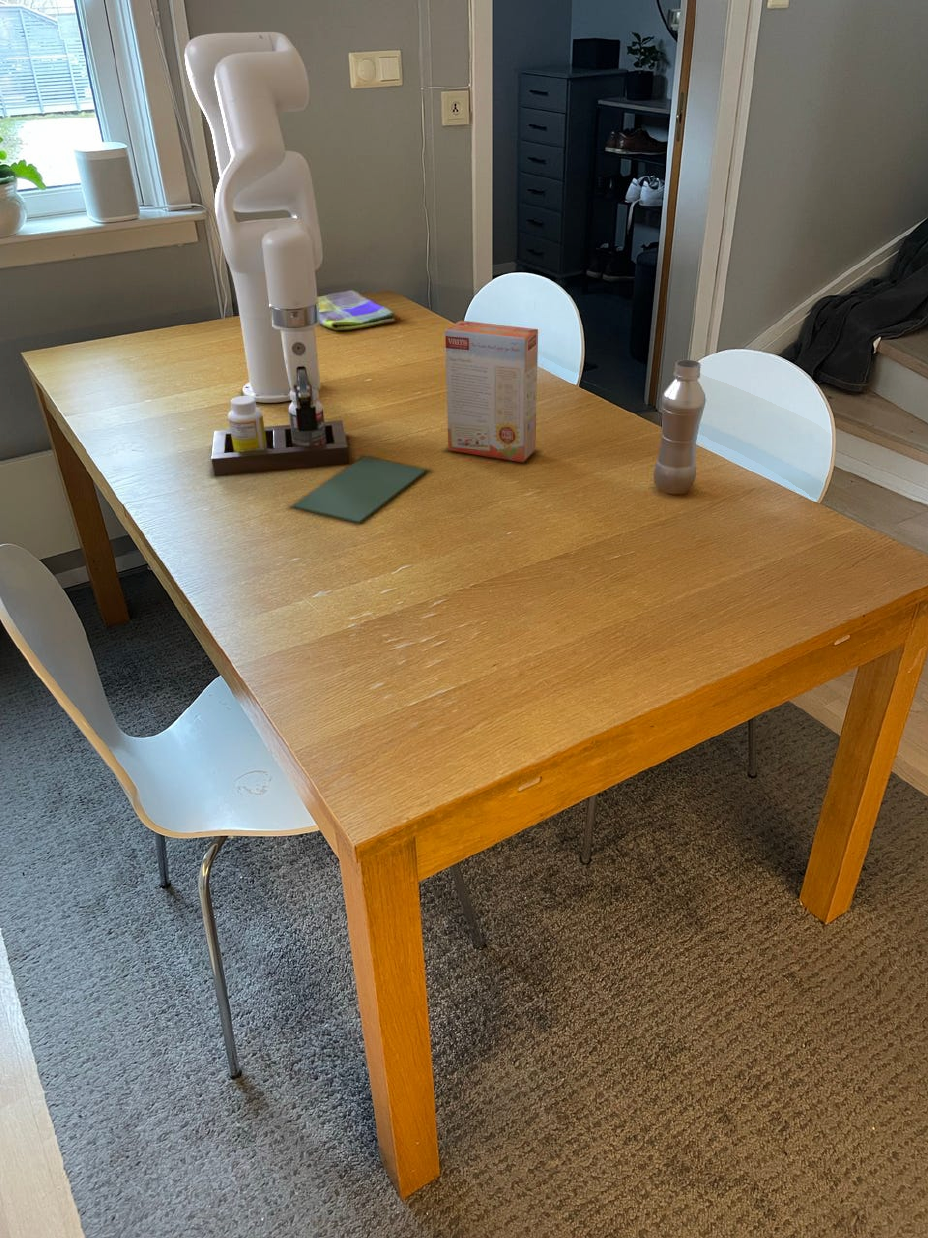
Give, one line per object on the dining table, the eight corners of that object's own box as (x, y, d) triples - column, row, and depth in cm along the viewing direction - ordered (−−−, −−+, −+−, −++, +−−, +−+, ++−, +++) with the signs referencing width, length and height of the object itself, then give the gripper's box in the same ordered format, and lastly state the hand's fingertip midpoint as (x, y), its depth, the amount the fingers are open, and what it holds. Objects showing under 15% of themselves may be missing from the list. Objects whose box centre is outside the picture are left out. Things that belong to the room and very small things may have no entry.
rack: (217, 446, 161) (214, 430, 160) (343, 435, 164) (342, 419, 163) (214, 475, 151) (211, 458, 150) (349, 463, 154) (347, 447, 153)
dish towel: (328, 334, 214) (327, 322, 212) (294, 308, 232) (293, 297, 230) (398, 322, 220) (397, 311, 219) (359, 299, 238) (358, 287, 237)
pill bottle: (320, 454, 156) (314, 398, 150) (288, 452, 157) (281, 396, 151) (331, 440, 160) (325, 385, 155) (299, 438, 161) (293, 383, 156)
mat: (364, 458, 156) (364, 456, 156) (426, 471, 151) (426, 469, 151) (293, 507, 142) (293, 505, 141) (359, 523, 137) (359, 521, 137)
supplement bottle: (254, 448, 160) (245, 391, 155) (275, 456, 157) (267, 398, 152) (228, 458, 157) (218, 400, 151) (249, 467, 154) (240, 408, 148)
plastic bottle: (696, 483, 146) (713, 358, 135) (690, 501, 141) (708, 373, 130) (655, 477, 148) (669, 354, 137) (648, 496, 143) (661, 369, 132)
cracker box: (536, 450, 158) (540, 327, 146) (523, 464, 153) (526, 338, 141) (461, 438, 163) (459, 317, 151) (447, 451, 158) (443, 327, 146)
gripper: (322, 329, 139) (332, 441, 150) (316, 297, 153) (326, 401, 164) (271, 333, 138) (286, 445, 149) (270, 300, 152) (283, 405, 162)
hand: (307, 421), depth 156 cm, fingers closed on pill bottle, 5 cm apart
